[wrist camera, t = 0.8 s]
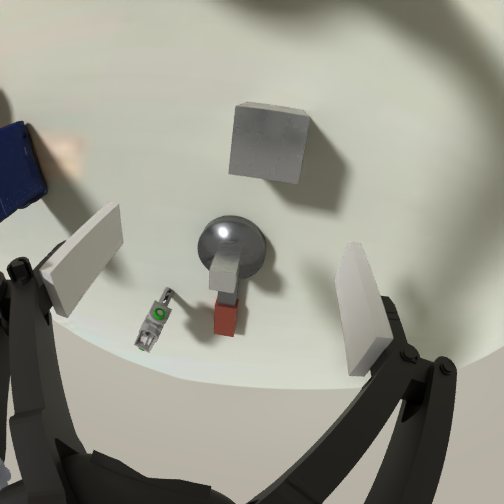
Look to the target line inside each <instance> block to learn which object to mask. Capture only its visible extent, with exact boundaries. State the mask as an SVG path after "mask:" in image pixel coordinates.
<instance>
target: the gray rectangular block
mask: <svg viewBox="0 0 504 504" xmlns="http://www.w3.org/2000/svg"><path fill="white" fill-rule="evenodd" d="M309 123H310V116H309V115H308V114H307V113H306V112H305V111H304V110H301V109H295V108H289V107H283V106H277V105H270V104H262V103H254V102H245V103H242V104H239V105H237V106H236V107H235V116H234V125H233V134H232V144H231V154H230V164H229V174H232V175H239V176H247V177H254V178H261V179H267V180H273V181H280V182H286V183H292V184H297V185H298V182H299V177H300V171H301V166H302V161H303V156H304V150H305V145H306V139H307V134H308V128H309Z"/></svg>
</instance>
